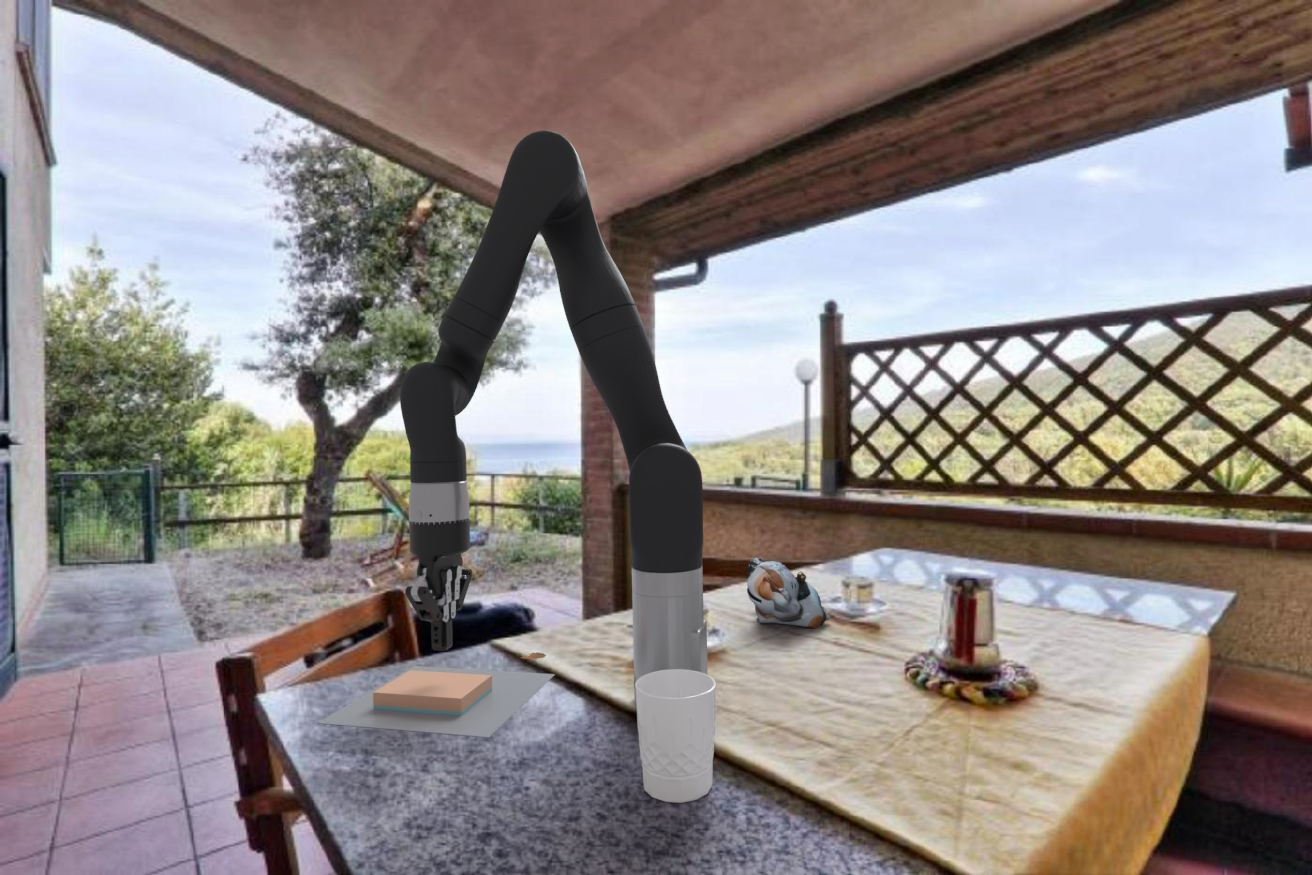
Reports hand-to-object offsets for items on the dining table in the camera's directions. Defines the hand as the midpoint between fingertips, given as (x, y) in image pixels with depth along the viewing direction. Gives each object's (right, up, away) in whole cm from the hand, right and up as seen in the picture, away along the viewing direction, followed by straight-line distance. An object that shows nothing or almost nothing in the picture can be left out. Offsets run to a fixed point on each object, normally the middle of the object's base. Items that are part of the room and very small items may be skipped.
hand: (442, 648), depth 87 cm
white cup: (+30, -7, -22) cm, 38 cm away
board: (+1, -7, -1) cm, 7 cm away
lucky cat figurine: (+52, -6, +34) cm, 62 cm away
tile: (+1, -5, +2) cm, 5 cm away
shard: (+13, -8, +15) cm, 21 cm away
